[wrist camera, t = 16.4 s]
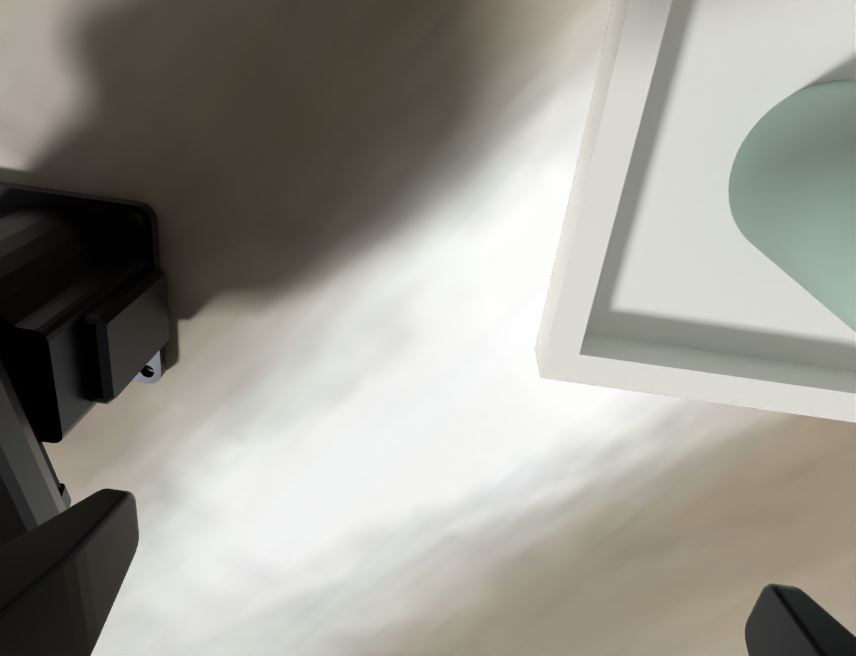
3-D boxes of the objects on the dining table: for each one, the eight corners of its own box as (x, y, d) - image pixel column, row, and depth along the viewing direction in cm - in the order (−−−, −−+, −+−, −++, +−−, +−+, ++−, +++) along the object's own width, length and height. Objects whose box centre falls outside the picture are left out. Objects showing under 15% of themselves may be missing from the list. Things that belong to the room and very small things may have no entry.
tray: (534, 347, 22) (540, 377, 20) (647, -150, 16) (669, -170, 14) (941, 405, 22) (982, 440, 20) (1212, -70, 16) (1304, -80, 14)
